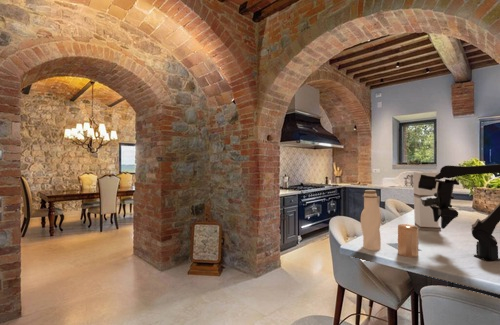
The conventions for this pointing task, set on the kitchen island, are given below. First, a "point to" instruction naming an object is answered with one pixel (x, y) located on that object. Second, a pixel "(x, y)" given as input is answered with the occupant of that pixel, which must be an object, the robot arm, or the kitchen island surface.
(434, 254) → the kitchen island surface
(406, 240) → the brown tapered cup
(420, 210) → the tall white column
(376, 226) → the water bottle
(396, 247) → the slate mat
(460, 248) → the kitchen island surface
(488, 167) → the robot arm
